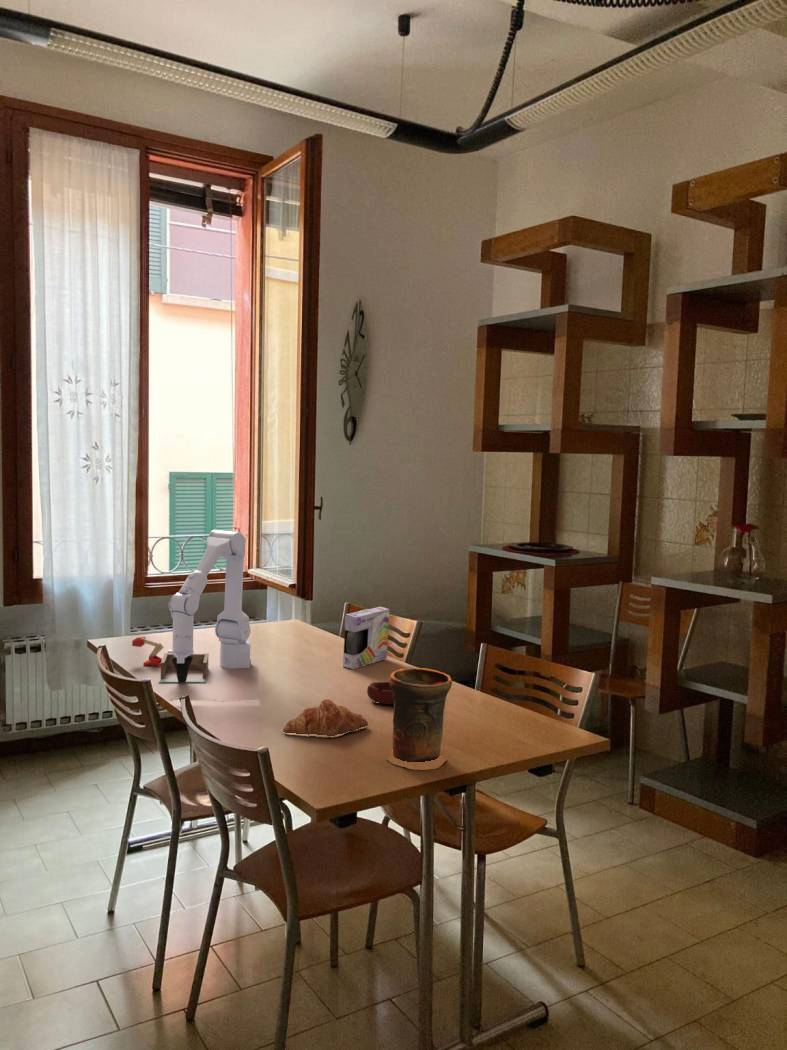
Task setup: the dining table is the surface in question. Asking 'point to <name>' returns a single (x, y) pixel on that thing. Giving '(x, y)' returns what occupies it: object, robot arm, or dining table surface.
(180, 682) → the panel
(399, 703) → the vessel
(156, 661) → the red desk lamp
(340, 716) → the pastry
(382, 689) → the ashtray
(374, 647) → the cake pan box
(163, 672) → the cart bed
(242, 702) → the dining table surface
